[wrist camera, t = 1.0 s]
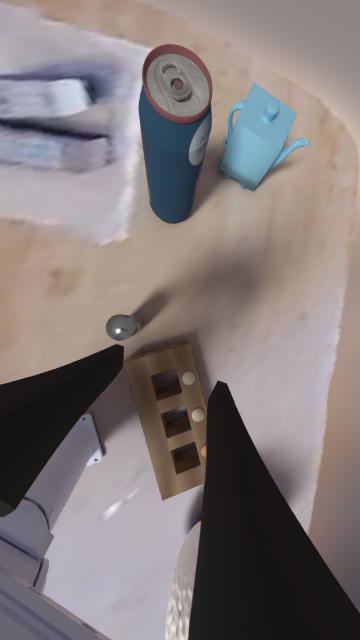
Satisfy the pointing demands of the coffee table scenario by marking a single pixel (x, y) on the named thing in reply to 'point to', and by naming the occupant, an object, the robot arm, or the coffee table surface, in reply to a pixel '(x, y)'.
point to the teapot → (257, 138)
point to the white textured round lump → (182, 588)
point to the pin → (123, 326)
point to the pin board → (165, 437)
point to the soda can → (174, 127)
